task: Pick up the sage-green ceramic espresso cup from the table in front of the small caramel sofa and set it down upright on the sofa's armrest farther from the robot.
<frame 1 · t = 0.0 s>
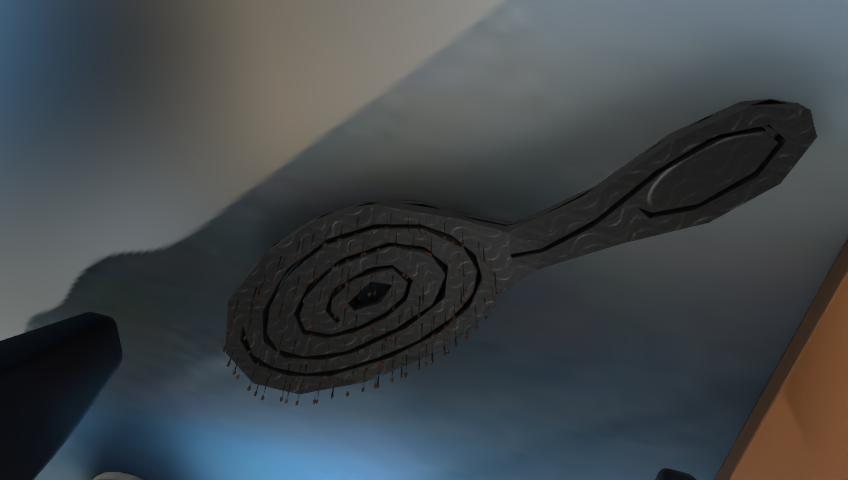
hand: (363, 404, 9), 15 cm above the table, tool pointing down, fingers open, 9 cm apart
hairbrush: (476, 242, 24), on the table
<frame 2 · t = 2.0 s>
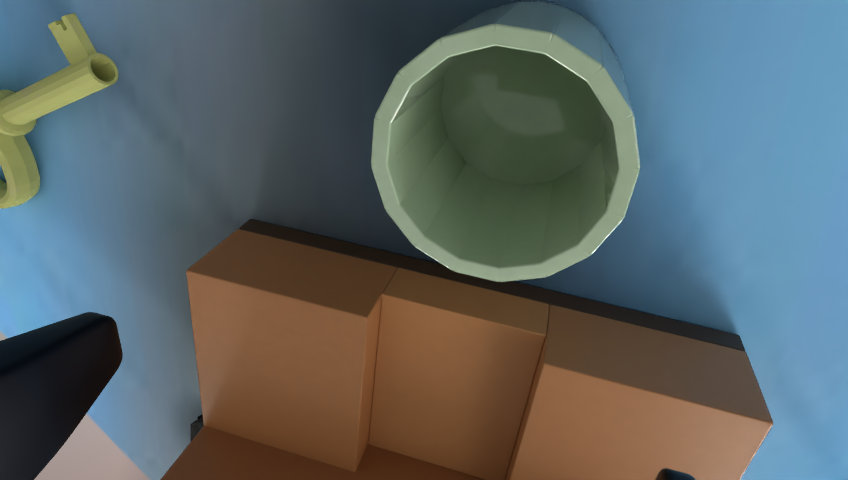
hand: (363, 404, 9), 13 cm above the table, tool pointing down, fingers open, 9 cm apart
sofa: (458, 365, 25), on the table
cup: (524, 102, 19), on the table
key: (32, 104, 24), on the table
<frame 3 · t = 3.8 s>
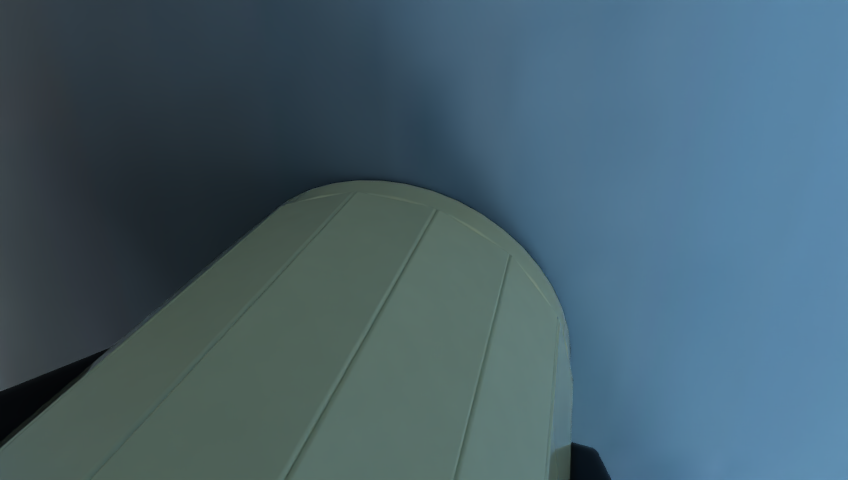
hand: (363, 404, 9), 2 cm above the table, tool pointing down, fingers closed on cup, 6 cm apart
cup: (392, 340, 10), on the table, touching gripper
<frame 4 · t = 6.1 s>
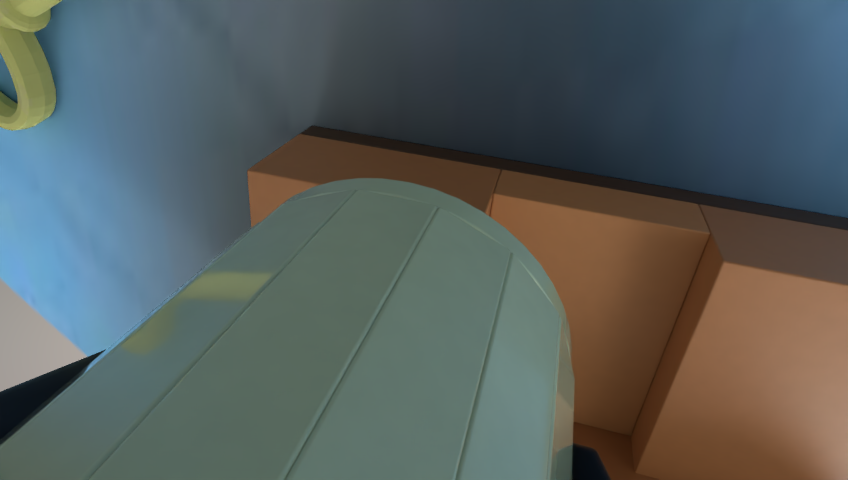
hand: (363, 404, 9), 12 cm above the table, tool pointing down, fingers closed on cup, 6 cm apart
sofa: (564, 298, 21), on the table
cup: (393, 338, 10), point 10 cm above the table, touching gripper
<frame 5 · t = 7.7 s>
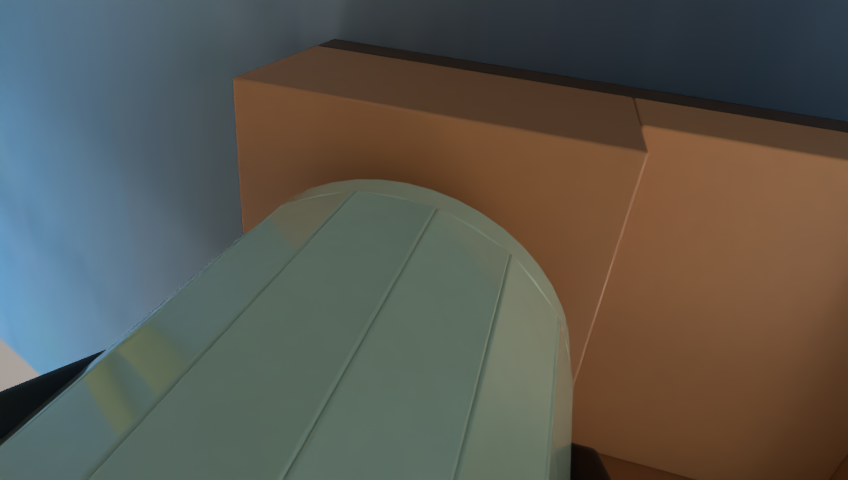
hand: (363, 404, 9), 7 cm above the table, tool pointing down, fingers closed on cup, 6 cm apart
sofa: (694, 301, 14), on the table
cup: (392, 339, 10), point 5 cm above the table, touching gripper
when the fingers open (6 cm above the table, at t = 8.5 s): cup stays where it is, resting on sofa.
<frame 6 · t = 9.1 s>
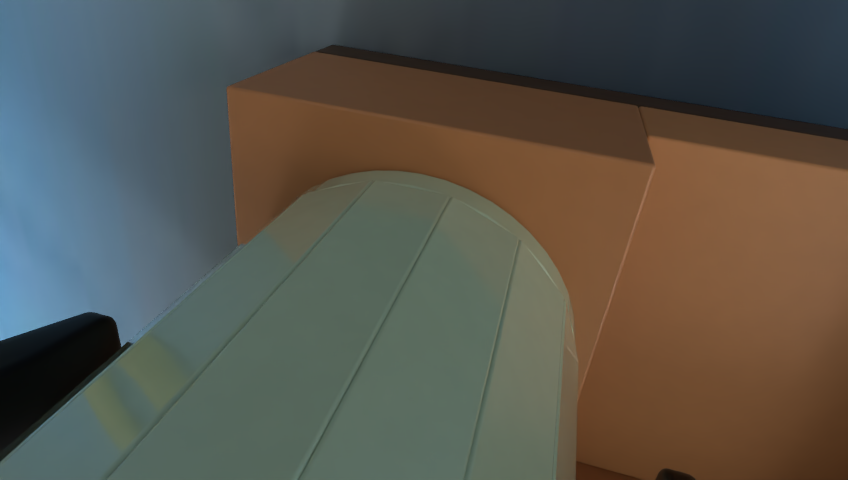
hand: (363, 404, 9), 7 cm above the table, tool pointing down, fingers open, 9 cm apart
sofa: (699, 312, 14), on the table
cup: (405, 324, 11), point 4 cm above the table, touching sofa
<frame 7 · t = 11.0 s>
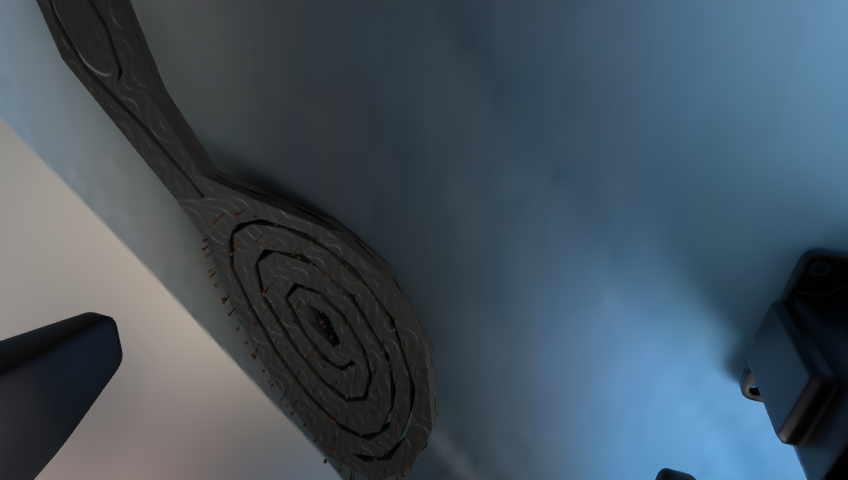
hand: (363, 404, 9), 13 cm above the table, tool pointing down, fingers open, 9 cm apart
hairbrush: (261, 213, 24), on the table
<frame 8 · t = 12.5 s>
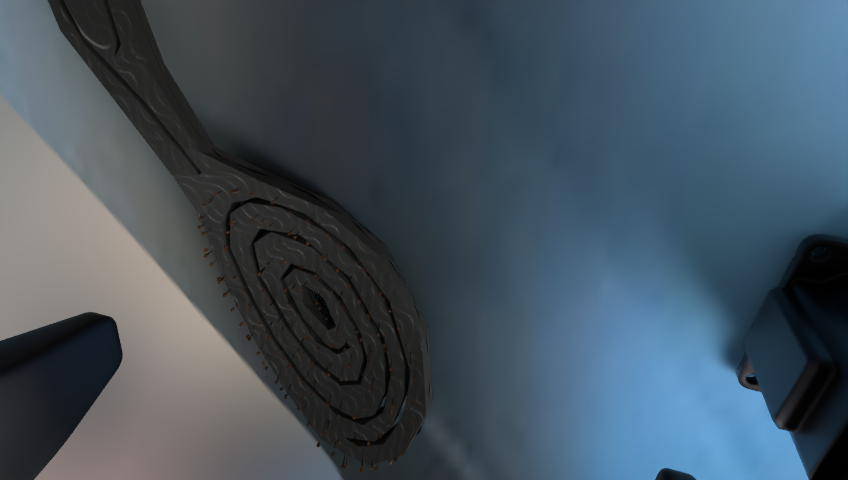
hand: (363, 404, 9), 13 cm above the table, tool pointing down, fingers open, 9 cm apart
hairbrush: (259, 193, 24), on the table
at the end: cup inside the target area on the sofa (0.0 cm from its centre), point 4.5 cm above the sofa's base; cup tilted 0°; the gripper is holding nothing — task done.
